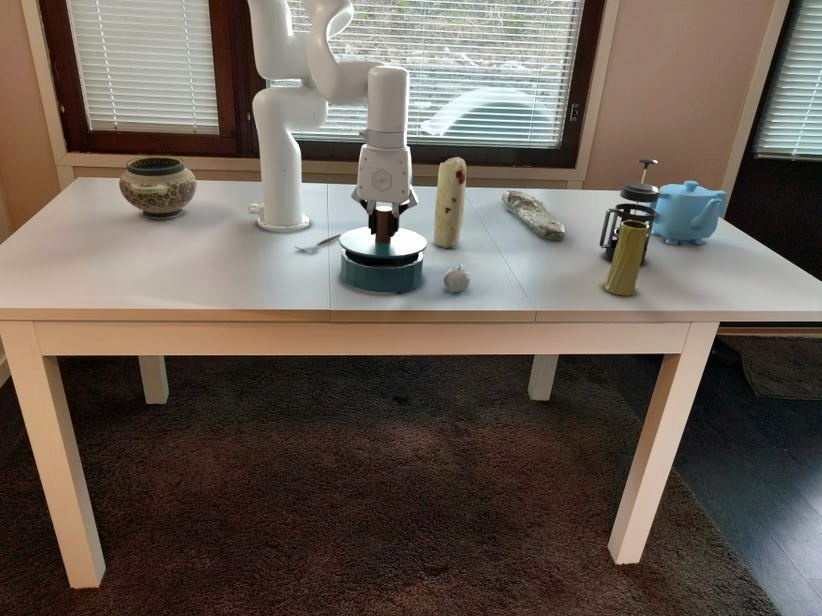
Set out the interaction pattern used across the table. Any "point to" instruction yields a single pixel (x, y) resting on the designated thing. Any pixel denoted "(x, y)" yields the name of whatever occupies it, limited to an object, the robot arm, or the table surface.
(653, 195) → the french press
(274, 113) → the robot arm
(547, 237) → the elongated rock
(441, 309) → the table surface
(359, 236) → the lid
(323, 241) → the fork
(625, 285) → the vase
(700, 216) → the teapot
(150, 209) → the ceramic bowl
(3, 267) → the table surface
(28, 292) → the table surface
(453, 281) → the garlic
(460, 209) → the food model
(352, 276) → the pot
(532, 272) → the table surface
